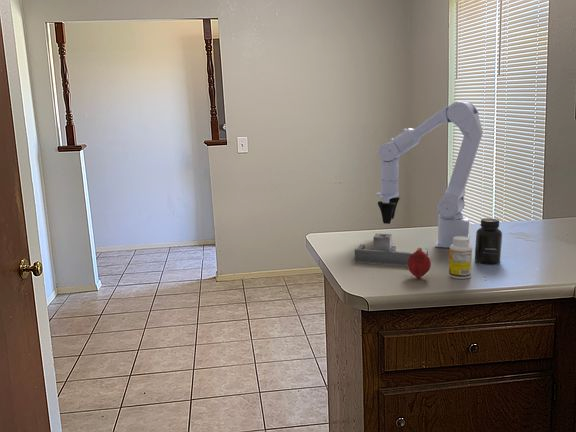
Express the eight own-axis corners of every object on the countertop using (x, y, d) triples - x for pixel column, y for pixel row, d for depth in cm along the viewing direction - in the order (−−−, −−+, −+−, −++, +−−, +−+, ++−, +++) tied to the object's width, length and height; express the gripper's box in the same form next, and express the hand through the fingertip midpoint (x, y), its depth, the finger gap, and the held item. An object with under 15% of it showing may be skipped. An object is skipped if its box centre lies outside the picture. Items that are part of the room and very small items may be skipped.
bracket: (427, 258, 162) (428, 246, 161) (425, 267, 153) (425, 255, 152) (360, 253, 168) (360, 242, 167) (354, 262, 159) (354, 250, 158)
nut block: (391, 246, 176) (392, 233, 176) (389, 250, 172) (389, 237, 171) (376, 245, 178) (376, 233, 177) (373, 249, 173) (373, 236, 172)
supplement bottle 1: (454, 271, 149) (455, 234, 147) (474, 275, 145) (476, 237, 143) (444, 277, 145) (446, 238, 143) (465, 281, 141) (467, 241, 139)
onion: (430, 282, 141) (431, 251, 140) (407, 280, 142) (407, 250, 141) (429, 275, 147) (430, 245, 145) (407, 274, 148) (407, 244, 146)
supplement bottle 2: (487, 266, 153) (490, 223, 151) (469, 260, 159) (471, 219, 157) (505, 262, 156) (508, 220, 154) (487, 257, 162) (489, 216, 160)
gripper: (380, 176, 190) (379, 216, 193) (373, 182, 176) (372, 225, 179) (401, 177, 188) (400, 217, 190) (395, 183, 174) (394, 226, 177)
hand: (388, 221), depth 185 cm, fingers open, 7 cm apart
